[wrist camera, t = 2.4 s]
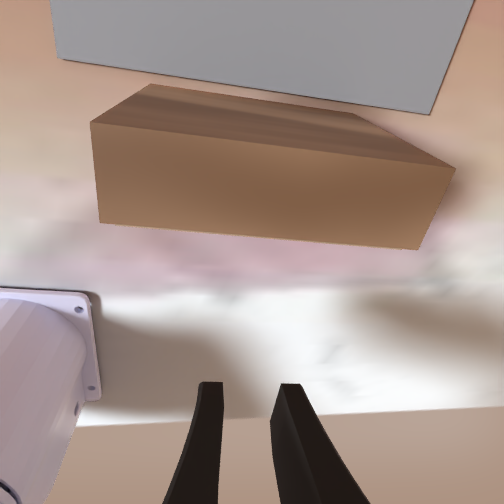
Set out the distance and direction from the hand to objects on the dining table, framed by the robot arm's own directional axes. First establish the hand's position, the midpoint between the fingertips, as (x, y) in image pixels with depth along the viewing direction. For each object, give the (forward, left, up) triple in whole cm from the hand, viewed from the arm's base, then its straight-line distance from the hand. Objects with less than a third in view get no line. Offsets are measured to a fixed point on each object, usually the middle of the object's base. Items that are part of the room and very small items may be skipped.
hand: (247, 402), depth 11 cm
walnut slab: (+7, 0, -10) cm, 12 cm away
